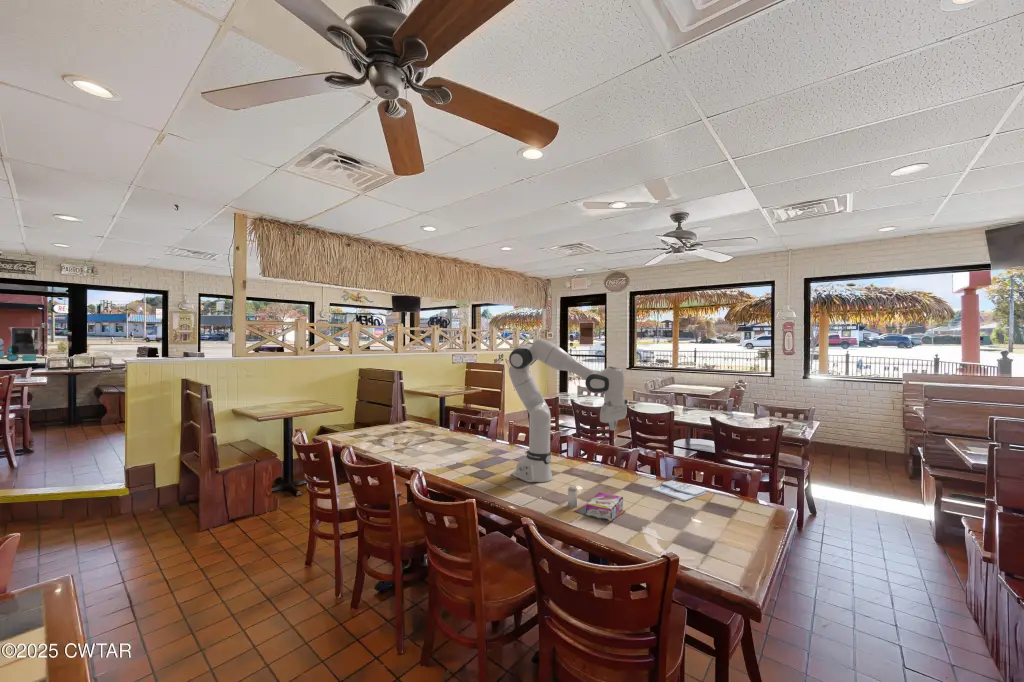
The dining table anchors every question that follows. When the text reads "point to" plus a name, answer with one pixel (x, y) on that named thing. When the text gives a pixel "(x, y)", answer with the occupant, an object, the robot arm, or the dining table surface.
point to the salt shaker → (572, 497)
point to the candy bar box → (604, 506)
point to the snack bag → (686, 490)
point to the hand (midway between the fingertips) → (612, 429)
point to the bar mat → (583, 511)
